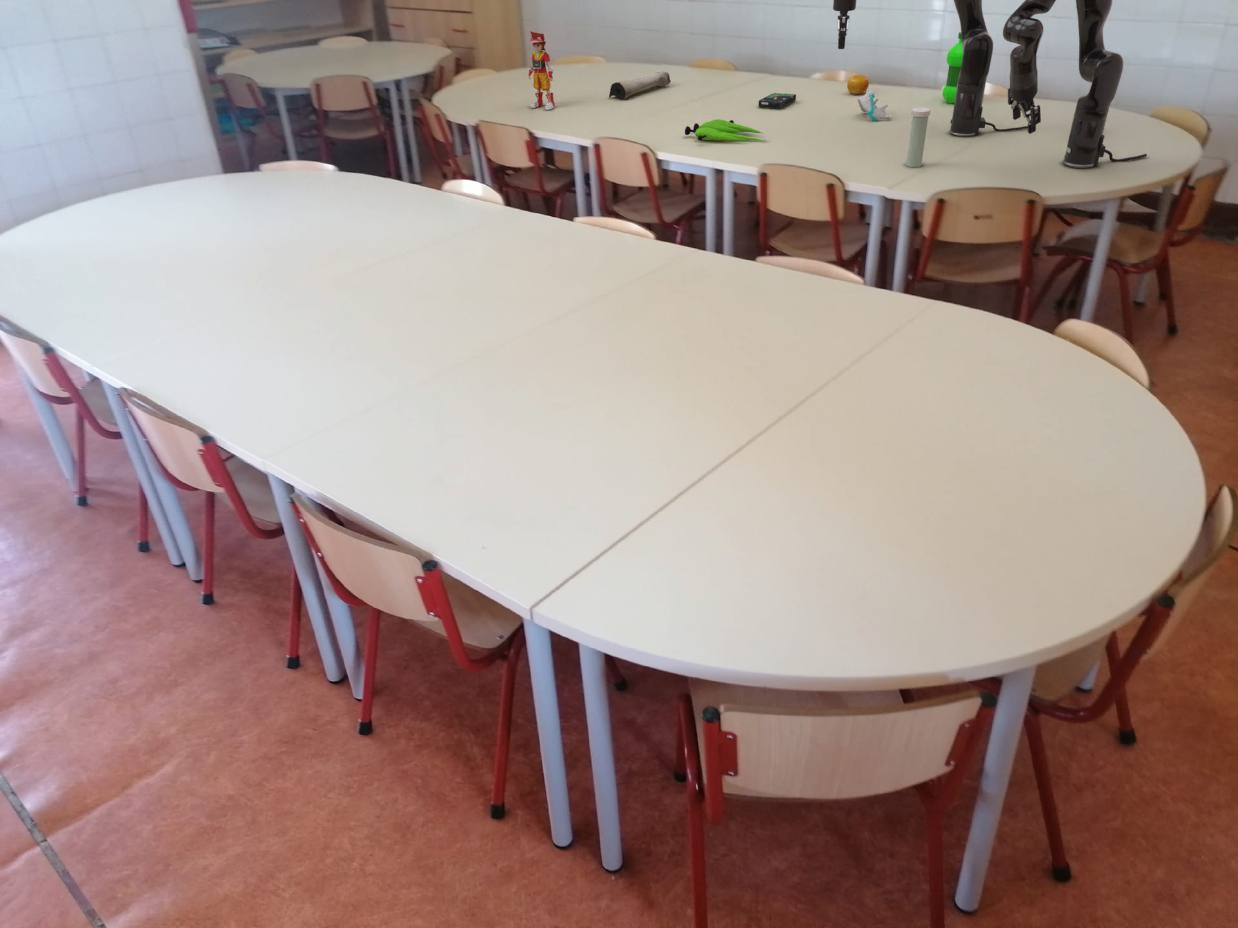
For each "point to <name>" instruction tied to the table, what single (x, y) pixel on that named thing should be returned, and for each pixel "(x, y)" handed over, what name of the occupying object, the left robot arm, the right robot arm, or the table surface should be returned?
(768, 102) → the disk drive
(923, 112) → the lid
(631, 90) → the rolled mat
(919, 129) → the jar
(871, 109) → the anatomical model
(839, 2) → the left robot arm
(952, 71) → the green dumbbell-shaped cylinder
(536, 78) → the toy
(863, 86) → the fruit
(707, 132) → the toy
